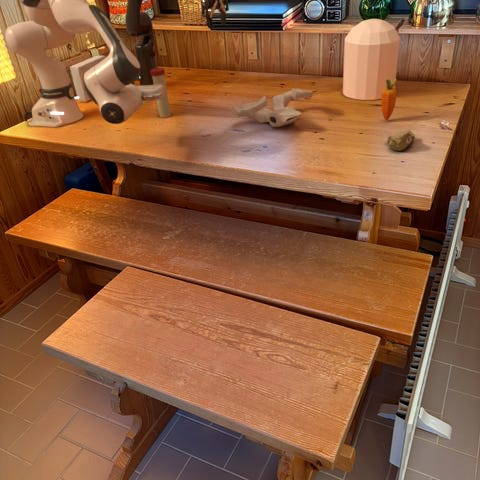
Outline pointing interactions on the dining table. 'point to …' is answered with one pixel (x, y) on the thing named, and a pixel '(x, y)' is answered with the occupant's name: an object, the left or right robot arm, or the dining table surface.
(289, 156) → the dining table surface
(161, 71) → the lid
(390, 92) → the carrot
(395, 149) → the rock
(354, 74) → the container
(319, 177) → the dining table surface
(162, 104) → the jar
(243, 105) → the animal horns
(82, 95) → the skincare box
